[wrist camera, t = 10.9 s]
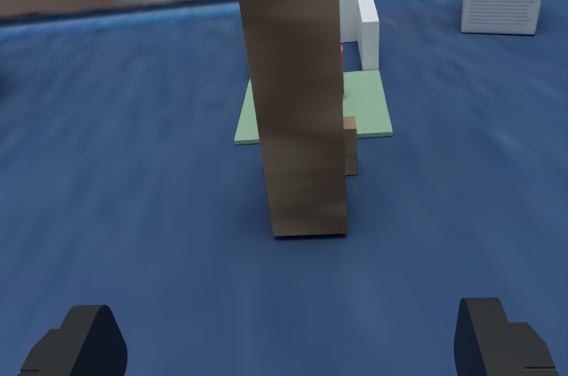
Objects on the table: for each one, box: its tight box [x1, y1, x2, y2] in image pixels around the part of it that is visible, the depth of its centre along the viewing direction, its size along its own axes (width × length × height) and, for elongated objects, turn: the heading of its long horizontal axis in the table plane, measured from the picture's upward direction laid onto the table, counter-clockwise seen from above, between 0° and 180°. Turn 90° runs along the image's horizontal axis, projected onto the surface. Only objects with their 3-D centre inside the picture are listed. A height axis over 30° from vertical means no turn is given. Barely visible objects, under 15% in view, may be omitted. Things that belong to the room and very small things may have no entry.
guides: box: [343, 116, 357, 175], centre depth 29 cm, size 5×1×3 cm, turn 87°
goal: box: [243, 0, 379, 74], centre depth 43 cm, size 10×8×4 cm
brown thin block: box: [239, 0, 347, 236], centre depth 28 cm, size 4×15×12 cm, turn 177°
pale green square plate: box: [234, 70, 393, 145], centre depth 37 cm, size 10×9×1 cm
